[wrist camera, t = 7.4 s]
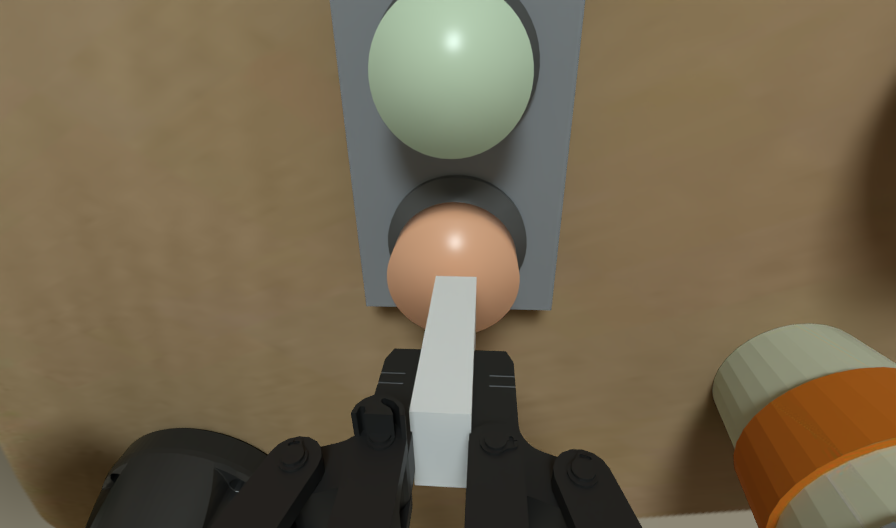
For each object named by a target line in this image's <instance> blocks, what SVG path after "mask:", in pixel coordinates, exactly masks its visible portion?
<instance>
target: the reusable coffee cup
mask: <svg viewBox="0 0 896 528" xmlns="http://www.w3.org/2000/svg"><path fill="white" fill-rule="evenodd" d="M712 391H713V399H714V402H715V404H716V406H717V409H718V411H719V413H720V416H721V418H722V420H723V423H724V425H725V428H726V430H727V432H728V435H729V437H730V439H731V442H732V444H733V446H734V449H735V451H734V455H733V457H734V468H735V471H736V473H737V476H738V478H739V481H740V483H741V486H742V488H743V491H744V493H745V496H746V498H747V501H748V503H749V505H750V508H751V510H752V513H753V515H754V518H755V520H756V523H757V525H758V528H896V363H894V362H893V361H891V360H889V359H888V358H886V357H885V356H883V355H881V354H880V353H878V352H877V351H875V350H874V349H872V348H870V347H869V346H867V345H866V344H864V343H862V342H861V341H859V340H858V339H856V338H855V337H853V336H851V335H850V334H848V333H846V332H844V331H842V330H840V329H838V328H835V327H831V326H827V325H821V324H795V325H790V326H785V327H780V328H776V329H774V330H771V331H768V332H765V333H762V334H760V335H758V336H756V337H754V338H753V339H751V340H749V341H747V342H746V343H744V344H743V345H741V346H740V347H739V348H737V349H736V350H735V351H734V352H733V353H732V354H731V355H730V356H729V357H728V358H726V360H725V361H724V362H723V364H722V365H721V367H720V368H719V370H718V372H717V374H716V376H715V378H714V383H713V389H712Z"/></svg>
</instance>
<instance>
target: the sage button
mask: <svg viewBox="0 0 896 528" xmlns="http://www.w3.org/2000/svg"><path fill="white" fill-rule="evenodd" d="M368 78H369V85H370V91H371V94H372V98H373V101H374V103H375V106H376V108H377V111H378V113H379V114H380V116H381V118H382V120H383V121H384V123H385V124H386V125H387V127H388V128H389V129H390V130H391V132H392V133H393V134H394V135H395V136H396V137H397V138H398V139H400V140H401V141H402V142H403V143H404V144H406V145H407V146H409V147H411V148H412V149H414V150H416V151H418V152H420V153H422V154H425V155H428V156H431V157H436V158H441V159H461V158H466V157H471V156H474V155H477V154H480V153H482V152H484V151H486V150H488V149H490V148H492V147H493V146H495V145H496V144H498V143H499V142H500V141H502V140H503V139H504V138H505V137H506V136H507V135H508V134H509V133H510V132H511V131H512V130H513V129H514V127H515V126H516V124H517V123H518V122H519V120H520V118H521V117H522V115H523V113H524V111H525V109H526V106H527V104H528V101H529V98H530V95H531V91H532V86H533V78H534V62H533V53H532V49H531V45H530V40H529V38H528V35H527V33H526V30H525V28H524V26H523V24H522V22H521V21H520V19H519V17H518V16H517V15H516V13H515V12H514V11H513V9H512V8H511V7H510V6H509V5H508V4H507V3H506V2H505V1H504V0H397V1H396V2H395V3H394V4H393V6H392V7H391V8H390V9H389V10H388V11H387V13H386V14H385V16H384V17H383V18H382V20H381V22H380V24H379V26H378V28H377V30H376V32H375V34H374V37H373V40H372V43H371V48H370V53H369V61H368Z"/></svg>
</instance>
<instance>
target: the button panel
mask: <svg viewBox="0 0 896 528" xmlns="http://www.w3.org/2000/svg"><path fill="white" fill-rule="evenodd" d="M396 1H397V0H330V6H331V15H332V23H333V31H334V39H335V48H336V56H337V64H338V73H339V81H340V89H341V98H342V106H343V114H344V123H345V131H346V139H347V148H348V156H349V164H350V172H351V181H352V189H353V197H354V206H355V214H356V222H357V231H358V239H359V247H360V256H361V264H362V272H363V281H364V289H365V297H366V305H367V306H384V307H397V306H396V304H395V303H394V301H393V299H392V297H391V295H390V292H389V288H388V283H387V268H388V263H389V260H390V257H391V254H392V252H393V249H394V247H395V244H396V241H397V239H398V237H399V234H400V232H401V230H402V229H403V227H404V226H405V224H406V223H407V222H408V221H409V220H410V219H411V218H412V217H413V216H415V215H416V214H417V213H419V212H420V211H422V210H424V209H426V208H428V207H430V206H433V205H436V204H441V203H447V202H460V203H467V204H472V205H475V206H478V207H481V208H483V209H485V210H487V211H488V212H490V213H491V214H493V215H494V216H496V217H497V218H498V219H499V220H500V221H501V222H502V223H503V224H504V225H505V226H506V228H507V229H508V231H509V232H510V234H511V236H512V239H513V241H514V244H515V249H516V255H517V262H518V268H519V275H520V284H519V290H518V294H517V297H516V299H515V301H514V304H513V305H512V307H511V308H510V309H517V310H551V306H552V297H553V288H554V279H555V270H556V261H557V252H558V243H559V234H560V224H561V215H562V206H563V197H564V188H565V179H566V170H567V161H568V152H569V142H570V133H571V124H572V115H573V106H574V97H575V88H576V79H577V70H578V60H579V51H580V42H581V33H582V24H583V15H584V6H585V0H504V1H505V2H506V3H507V4H508V5H509V6H510V7H511V8H512V9H513V11H514V12H515V13H516V15H517V16H518V17H519V19H520V21H521V22H522V24H523V26H524V28H525V30H526V33H527V35H528V38H529V40H530V45H531V49H532V53H533V62H534V78H533V86H532V91H531V95H530V98H529V101H528V104H527V106H526V109H525V111H524V113H523V115H522V117H521V118H520V120H519V122H518V123H517V124H516V126H515V127H514V129H513V130H512V131H511V132H510V133H509V134H508V135H507V136H506V137H505V138H504V139H503V140H502V141H500V142H499V143H498V144H496V145H495V146H493V147H492V148H490V149H488V150H486V151H484V152H482V153H480V154H477V155H474V156H471V157H466V158H461V159H441V158H436V157H431V156H428V155H425V154H422V153H420V152H418V151H416V150H414V149H412V148H411V147H409V146H407V145H406V144H404V143H403V142H402V141H401V140H400V139H398V138H397V137H396V136H395V135H394V134H393V133H392V132H391V130H390V129H389V128H388V127H387V125H386V124H385V123H384V121H383V120H382V118H381V116H380V114H379V113H378V111H377V108H376V106H375V103H374V101H373V98H372V94H371V91H370V85H369V78H368V61H369V53H370V48H371V43H372V40H373V37H374V34H375V32H376V30H377V28H378V26H379V24H380V22H381V20H382V18H383V17H384V16H385V14H386V13H387V11H388V10H389V9H390V8H391V7H392V6H393V4H394V3H395V2H396Z"/></svg>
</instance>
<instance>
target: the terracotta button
mask: <svg viewBox="0 0 896 528" xmlns="http://www.w3.org/2000/svg"><path fill="white" fill-rule="evenodd" d="M436 276H460V277H477V285H476V332H479V331H481V330H484V329H486V328H488V327H490V326H492V325H493V324H495V323H496V322H498V321H499V320H500V319H501V318H503V317H504V316H505V315H506V313H507V312H508V311H509V310H510V308H511V307H512V305H513V304H514V301H515V299H516V297H517V294H518V290H519V284H520V275H519V268H518V262H517V255H516V249H515V244H514V241H513V239H512V236H511V234H510V232H509V231H508V229H507V228H506V226H505V225H504V224H503V223H502V222H501V221H500V220H499V219H498V218H497V217H496V216H494V215H493V214H491V213H490V212H488V211H487V210H485V209H483V208H481V207H478V206H475V205H472V204H467V203H460V202H447V203H441V204H436V205H433V206H430V207H428V208H426V209H424V210H422V211H420V212H419V213H417V214H416V215H415V216H413V217H412V218H411V219H410V220H409V221H408V222H407V223H406V224H405V226H404V227H403V229H402V230H401V232H400V234H399V237H398V239H397V241H396V244H395V247H394V249H393V252H392V254H391V257H390V260H389V263H388V268H387V283H388V288H389V292H390V295H391V297H392V299H393V301H394V303H395V304H396V306H397V307H398V309H399V310H400V311H401V312H402V313H403V314H404V315H405V316H406V317H407V318H408V319H409V320H411V321H412V322H413V323H415V324H417V325H418V326H420V327H422V328H424V329H426V323H427V318H428V313H429V308H430V303H431V298H432V293H433V288H434V283H435V278H436Z"/></svg>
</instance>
